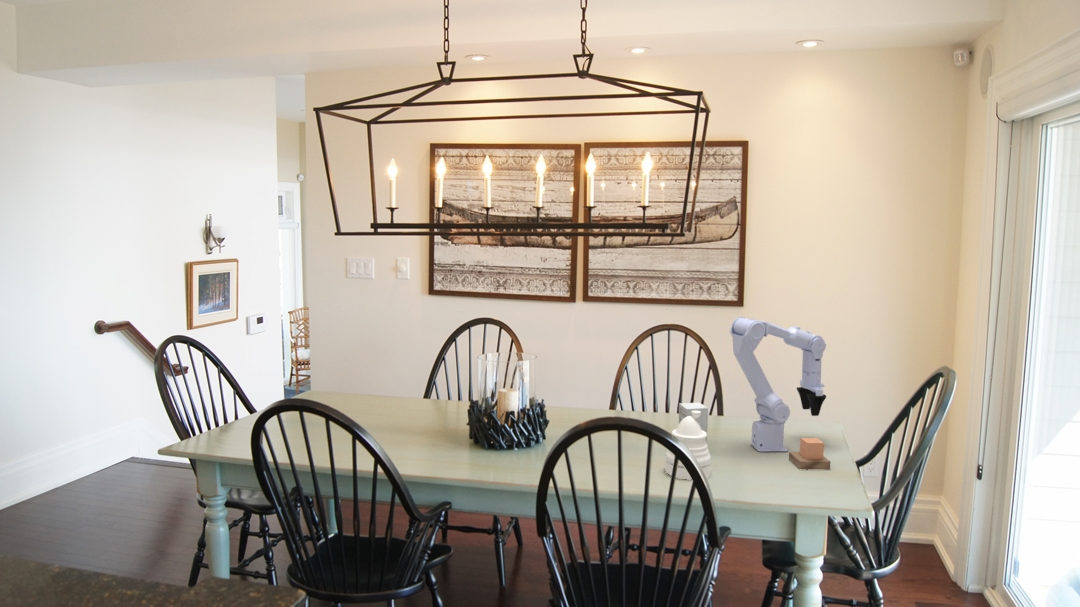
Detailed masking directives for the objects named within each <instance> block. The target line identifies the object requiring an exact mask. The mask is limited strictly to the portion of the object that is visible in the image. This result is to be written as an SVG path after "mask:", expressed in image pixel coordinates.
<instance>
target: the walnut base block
mask: <svg viewBox="0 0 1080 607" xmlns="http://www.w3.org/2000/svg"><path fill="white" fill-rule="evenodd" d="M788 461H789V462H791V464H792V465H794V466H795V467H796V468H797V469H798V470H799V469H806V470H805V471H809V470H808V469H830V470H831V461H830V460H829V459H828V458H827V457H825V456H824V455H823V460H806V459H805V458H804V457H803V456H801V455H800V451H788Z"/></svg>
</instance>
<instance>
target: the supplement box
mask: <svg viewBox="0 0 1080 607" xmlns="http://www.w3.org/2000/svg"><path fill="white" fill-rule="evenodd" d="M692 411H700V412H701V414H700V416H699V417H698V418H696V419H695V420H696V421H697V422H698V424H699V426H700V427H701V430H703V431H705V432H706V433H707V434H708V419H709V418H708V414H709V408H708V407H707V406H706V405H705V404H702V403H701V402H683V403H682V402H681V403H680V402H679V403H678V425H679V424H680V422H681V421H682V420H683V419H684V418H685V417H687V416H692ZM705 440H706V443H707V444H708V436H707V437H706V438H705Z"/></svg>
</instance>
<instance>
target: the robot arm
mask: <svg viewBox="0 0 1080 607" xmlns="http://www.w3.org/2000/svg"><path fill="white" fill-rule="evenodd" d="M729 333H730V335H731V337H732V350H733V355H734V356H735V358H736V361H737V362H738V364H739V366H740V368H741V370H742V372H743V374H744V376H745V377H746V379H747V382H748V383H749V385H750V387H751V389H752V391H753V393H754V395H755V396H756V397H755V398H754V400H753V401H754V403H755V407H756V410H755V411H756V412H757V414H758V415H759V420H756V421H753V422H752V426H751V443H750V445H751V446H752V447H753V448H754V449H755V450H756V451H757V452H789V451H788V449H787V447H785V446H784V439H785V438H784V437H785V436H784V435H785V424H786V422H787V420H788V419H789V417H790V415H791V410H790V407H789V405H787V404H786V403H785V402H783V399H782V398H781V397H780V396H779V395H778V394H777V393H775V391H774V390H773V388H772V386H771V384H770V382H769V380H768V378H767V376H766V374H765V372H764V371H763V369H762V367H761V365H760V363H759V361H758V359H757V357H756V355H755V353H754V352H755V350H756V349H757V347H758V346H759V344H760V343H761V341H762V340H763V338H764V337H766V338H767V337H768V335H771V336H774V337H777V338H781V339H783V342H784V344H786V345H788V346H791V347H793V348H797V349H800V350H802V369H801V370H802V371H801V379H800V380H799V386H800V387H796V390H797V392H798V393H797V394H799V398H800V402H801V408H802V409H803V410H810V415H811V416H812V417H818V416H820V412H821V408H822V405H823V404H824V401H825V399H827V395H826V394H824V389H823V388H825V384H824V383H822V382H821V380H822V359H823V356H824V355H823V354H824V352H825V350H826V347H827V343H826V342H825V339H824V338H823V337H822V336H821V335H819V334H818V335H817V334H813V333H812V332H811V331H810V330H806V331H805V330H803V329H801V327H799V326H796V325H795V326H790V327H788V328H784V327H781V326H779V325H776V324H775V323H772V322H769V321H766V320H760V319H755V318H754V319H753V318H746V317H744V316H743V317H742V316H739V317H737V318H735V319H734V320H733V322H732V323H731V326H730V330H729Z"/></svg>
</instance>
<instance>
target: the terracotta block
mask: <svg viewBox="0 0 1080 607" xmlns="http://www.w3.org/2000/svg"><path fill="white" fill-rule="evenodd" d="M799 443H800V444H799V452H800V455H801V456H803V457H804V458H805V459H806V460H823V456H824V448H825V443H824V441H821V440H820V439H819V438H818V437H801V438H800V442H799Z"/></svg>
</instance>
